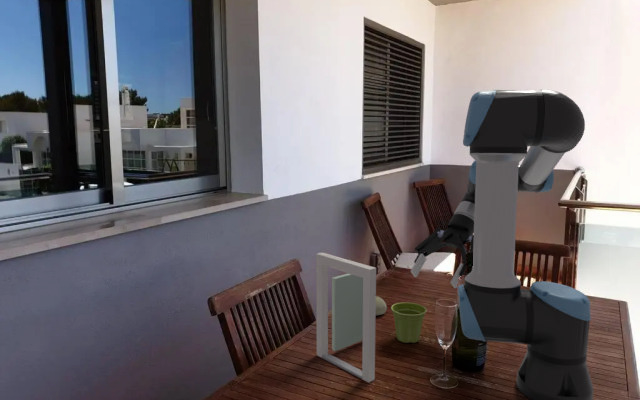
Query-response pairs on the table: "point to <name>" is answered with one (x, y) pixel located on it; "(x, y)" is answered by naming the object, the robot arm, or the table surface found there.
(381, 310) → the sea urchin shell
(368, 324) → the door frame
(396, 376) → the table surface
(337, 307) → the door
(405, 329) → the plant pot
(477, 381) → the table surface
